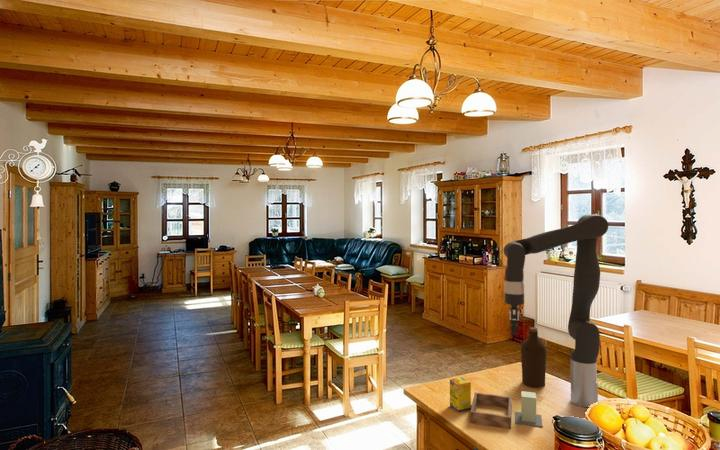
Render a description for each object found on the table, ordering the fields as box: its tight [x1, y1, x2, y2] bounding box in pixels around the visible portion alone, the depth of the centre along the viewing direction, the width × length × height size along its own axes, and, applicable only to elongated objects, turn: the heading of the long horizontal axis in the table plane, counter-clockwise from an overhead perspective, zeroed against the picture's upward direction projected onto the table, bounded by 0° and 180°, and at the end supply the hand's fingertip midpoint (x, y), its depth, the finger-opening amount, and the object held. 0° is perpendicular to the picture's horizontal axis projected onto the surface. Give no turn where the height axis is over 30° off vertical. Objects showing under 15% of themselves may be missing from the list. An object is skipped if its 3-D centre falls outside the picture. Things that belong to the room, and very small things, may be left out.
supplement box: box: [449, 376, 472, 413], centre depth 170 cm, size 6×6×11 cm
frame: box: [469, 391, 513, 429], centre depth 164 cm, size 14×18×4 cm
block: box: [520, 390, 537, 423], centre depth 160 cm, size 5×5×9 cm
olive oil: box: [520, 327, 548, 389], centre depth 192 cm, size 11×11×25 cm
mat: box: [515, 411, 543, 428], centre depth 160 cm, size 9×9×1 cm
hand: (514, 331), depth 176 cm, fingers open, 8 cm apart
